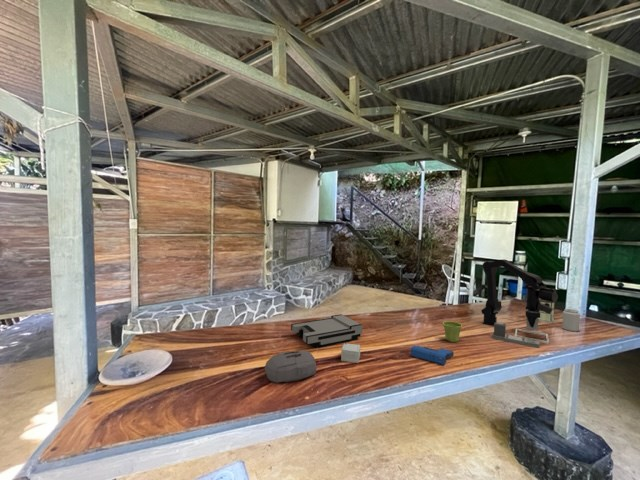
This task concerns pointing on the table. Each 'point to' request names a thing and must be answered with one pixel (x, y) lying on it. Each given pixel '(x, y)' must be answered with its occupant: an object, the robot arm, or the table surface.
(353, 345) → the small box
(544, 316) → the green desk organizer
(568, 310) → the can
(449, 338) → the plant pot
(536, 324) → the plug
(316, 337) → the game console
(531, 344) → the strip
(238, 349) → the table surface
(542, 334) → the white square frame
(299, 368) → the small grey backpack
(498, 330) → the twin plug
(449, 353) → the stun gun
